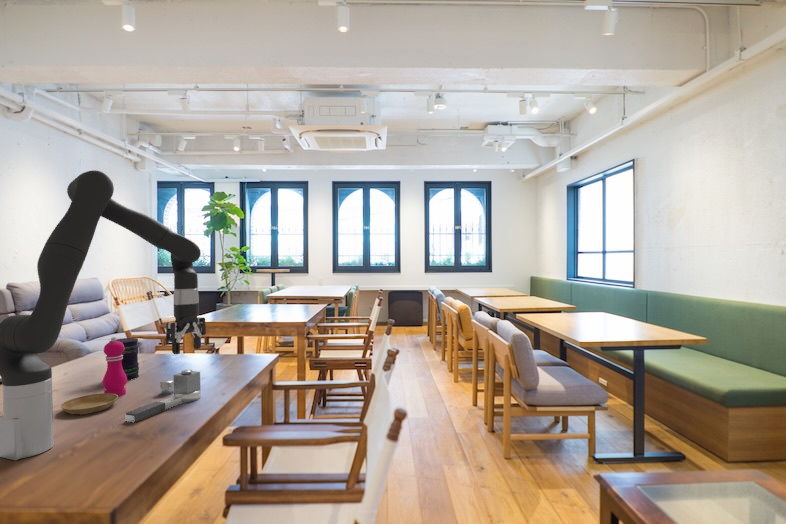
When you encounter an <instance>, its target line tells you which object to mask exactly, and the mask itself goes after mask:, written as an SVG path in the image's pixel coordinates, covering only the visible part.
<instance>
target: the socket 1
mask: <svg viewBox="0 0 786 524" xmlns="http://www.w3.org/2000/svg"><path fill="white" fill-rule="evenodd" d="M159 387H160V388H159V389H160V391H159V392H160V393H159V394H160V395H161V394H163V395H162V396H166V394H169V395H172V394H174V379H165V380H162V381H160V382H159ZM171 393H172V394H171Z"/></svg>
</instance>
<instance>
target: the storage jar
mask: <svg viewBox="0 0 786 524" xmlns="http://www.w3.org/2000/svg"><path fill="white" fill-rule="evenodd" d="M117 341H119V342H121V343H123V345H124V351H123V353H122V355H123V359H122V362H121V363H122V368H123V370H124V372H125V374H126V377H127V380H129V381H132V380H131V379H133V380H135V378H136V379H138V378H139V376H140V375H139V371H140V367H139V364H140V363H139V361H138V359H139V358H138V354H139V338H137V337H127V338H126V337H125V338H119V339H118V338H117ZM109 342H112V341H111V340H109V341H108V343H109Z"/></svg>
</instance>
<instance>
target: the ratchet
mask: <svg viewBox="0 0 786 524" xmlns="http://www.w3.org/2000/svg"><path fill="white" fill-rule="evenodd" d="M201 397H202V390H201V388H200V390H198V391H196V392H193V393H191V394H188V395H185V394H176V393H173V396H172V397H168V398H165V399H162V400H161V401H153V402H151V403H148V404H145V405H143V406H139V407H138V408H135V409H132V410H130V411H129V410H128V411H126V412H125V415H124V418H125V419H124V422H125V421H127V422H126V423H130V422H132V423H131V424H134V422H135V423H138V422H140V420H141V421H143V420H145V418H146V419H148V418H150V416H151V417H152V416H155V415H157V413H158V414H160V413H162V411H163V412H165V411H166V409H167V410H169V409H172V408H173V406H174V407H176V406H179V405H181V404H187V402H188V403H192V402H195V401H199V400H200V399H201ZM178 404H179V405H178ZM171 407H172V408H171ZM168 408H169V409H168ZM147 417H148V418H147ZM142 419H143V420H142ZM137 421H138V422H137Z"/></svg>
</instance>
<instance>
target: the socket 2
mask: <svg viewBox="0 0 786 524" xmlns="http://www.w3.org/2000/svg"><path fill="white" fill-rule="evenodd" d="M173 380H174V393H176V394H185V395H188V394H191V393H193V392H196V391H198V390H200V389H201V371H196V370H195V371H193V369H184V370H182V371H181V372H178V373H175V374H173ZM174 393H173V394H174Z"/></svg>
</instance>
